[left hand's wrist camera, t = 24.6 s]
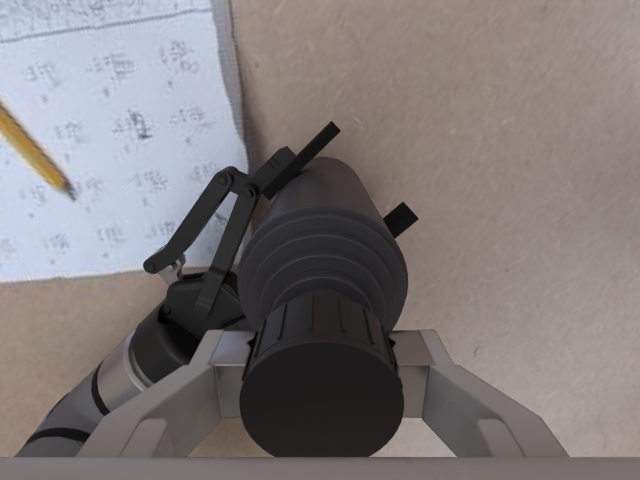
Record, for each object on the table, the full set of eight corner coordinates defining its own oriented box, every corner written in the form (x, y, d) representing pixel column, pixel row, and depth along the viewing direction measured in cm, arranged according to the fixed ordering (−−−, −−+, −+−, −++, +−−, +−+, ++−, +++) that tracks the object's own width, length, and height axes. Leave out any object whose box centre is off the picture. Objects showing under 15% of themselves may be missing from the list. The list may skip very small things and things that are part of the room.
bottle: (313, 140, 29) (282, 201, 7) (378, 188, 30) (518, 362, 9) (268, 206, 31) (138, 411, 9) (331, 248, 32) (348, 515, 11)
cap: (398, 296, 10) (418, 345, 8) (379, 406, 11) (393, 473, 9) (253, 288, 10) (235, 335, 7) (254, 400, 11) (238, 465, 9)
